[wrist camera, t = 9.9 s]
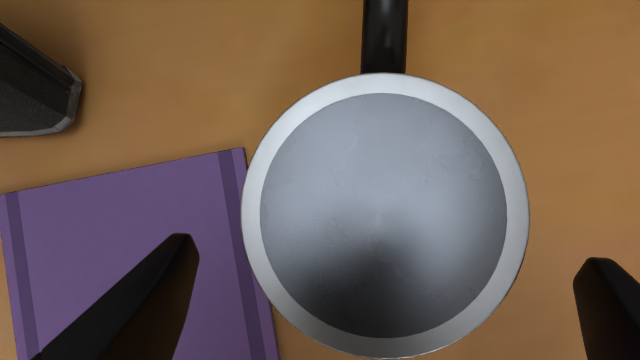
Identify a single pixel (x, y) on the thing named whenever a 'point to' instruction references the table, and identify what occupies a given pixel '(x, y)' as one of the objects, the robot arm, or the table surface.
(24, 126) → the camera
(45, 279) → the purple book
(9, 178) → the table surface
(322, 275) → the grey tall hollow container
